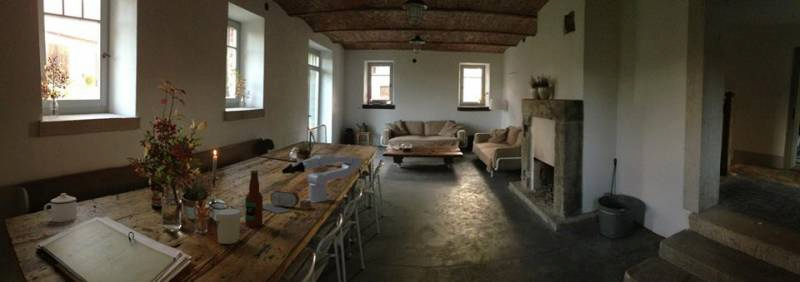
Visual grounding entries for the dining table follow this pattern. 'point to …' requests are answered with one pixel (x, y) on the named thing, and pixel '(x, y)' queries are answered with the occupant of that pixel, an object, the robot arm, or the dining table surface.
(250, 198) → the bottle
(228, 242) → the coffee cup
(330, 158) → the robot arm
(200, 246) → the dining table surface
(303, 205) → the walnut block
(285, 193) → the tin
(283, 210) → the mat
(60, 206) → the teacup with lid
